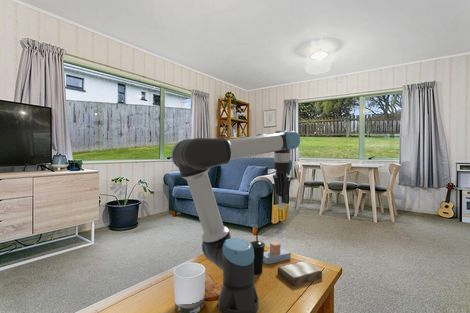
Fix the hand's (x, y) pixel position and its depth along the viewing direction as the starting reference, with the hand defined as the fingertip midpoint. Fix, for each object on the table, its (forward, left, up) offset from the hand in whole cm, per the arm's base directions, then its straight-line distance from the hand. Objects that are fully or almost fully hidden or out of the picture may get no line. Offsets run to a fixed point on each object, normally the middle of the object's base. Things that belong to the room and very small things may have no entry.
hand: (281, 209), depth 121 cm
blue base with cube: (+2, +9, -29) cm, 30 cm away
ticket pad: (+2, -11, -29) cm, 31 cm away
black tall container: (-14, +1, -29) cm, 33 cm away
